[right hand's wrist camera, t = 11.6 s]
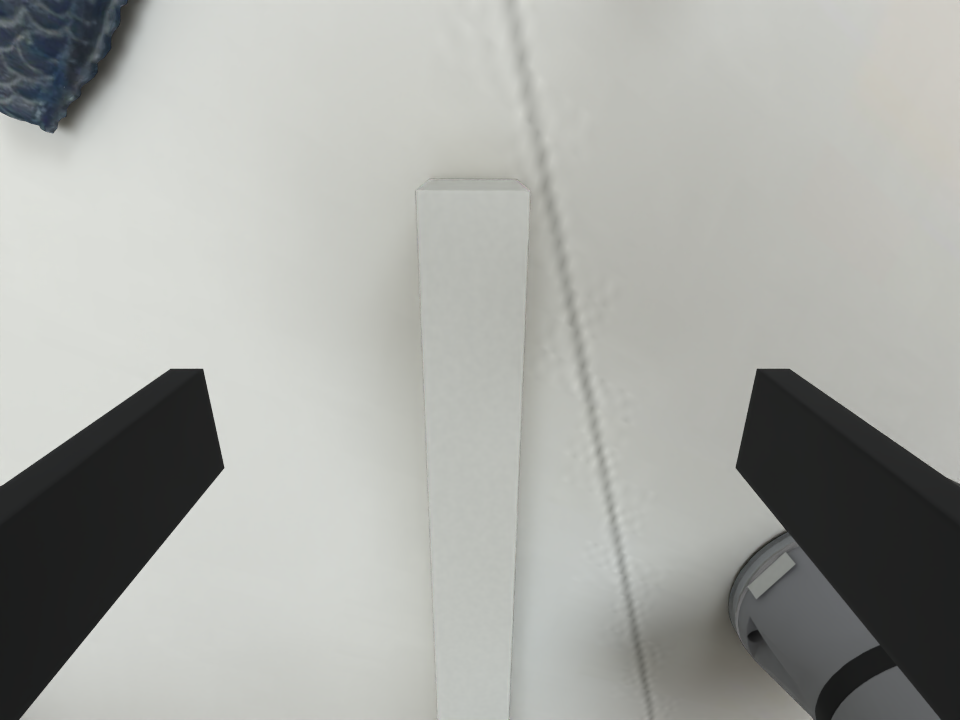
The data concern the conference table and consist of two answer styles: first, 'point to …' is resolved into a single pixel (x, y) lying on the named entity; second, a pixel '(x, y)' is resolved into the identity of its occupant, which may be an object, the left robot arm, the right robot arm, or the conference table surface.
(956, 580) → the right robot arm
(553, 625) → the conference table surface
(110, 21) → the fish model
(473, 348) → the beam
